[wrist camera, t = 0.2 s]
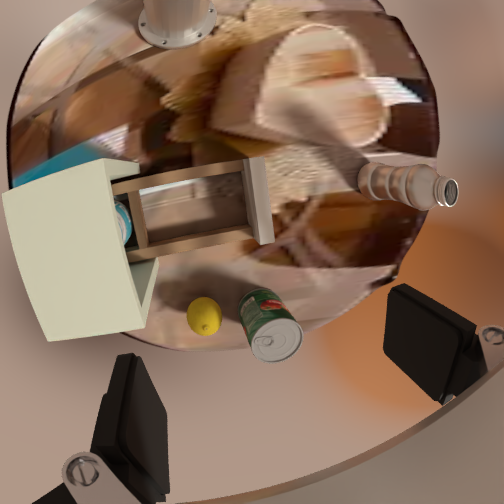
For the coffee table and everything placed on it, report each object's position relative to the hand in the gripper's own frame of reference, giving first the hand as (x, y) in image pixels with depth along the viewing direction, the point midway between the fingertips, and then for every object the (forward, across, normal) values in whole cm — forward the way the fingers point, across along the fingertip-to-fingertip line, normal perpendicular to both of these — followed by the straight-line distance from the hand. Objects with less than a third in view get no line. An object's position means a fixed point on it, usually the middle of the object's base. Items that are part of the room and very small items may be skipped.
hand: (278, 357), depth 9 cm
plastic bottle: (+36, -29, -2) cm, 46 cm away
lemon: (+36, +4, +15) cm, 39 cm away
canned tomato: (+36, -6, +18) cm, 41 cm away
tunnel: (+36, +15, -2) cm, 39 cm away
